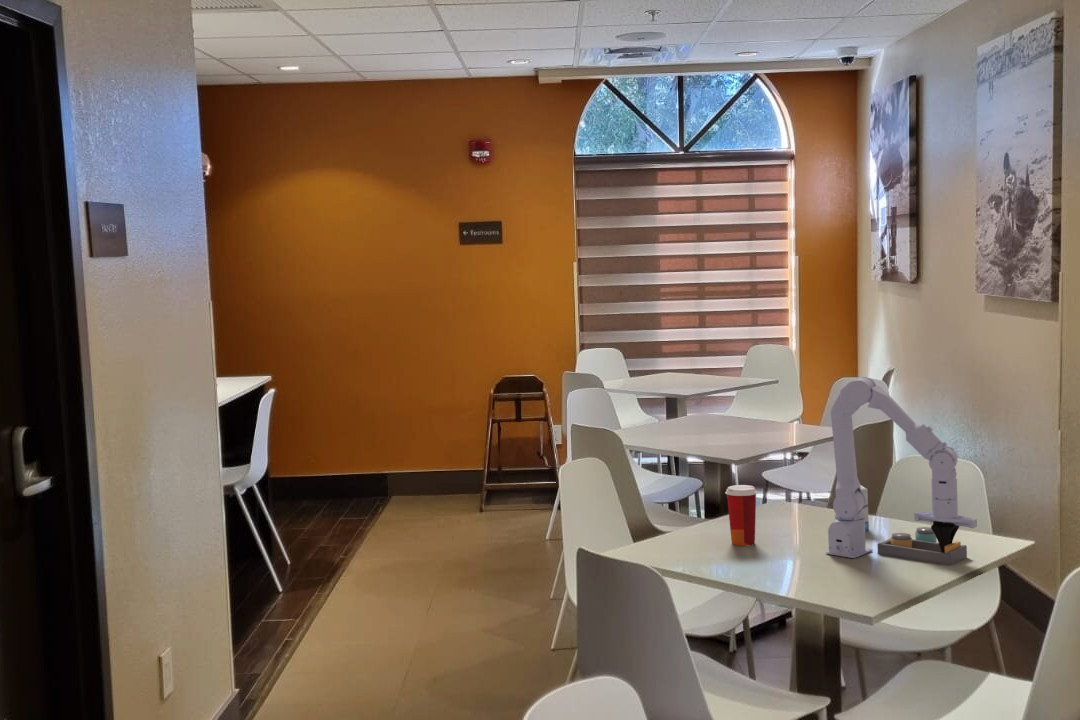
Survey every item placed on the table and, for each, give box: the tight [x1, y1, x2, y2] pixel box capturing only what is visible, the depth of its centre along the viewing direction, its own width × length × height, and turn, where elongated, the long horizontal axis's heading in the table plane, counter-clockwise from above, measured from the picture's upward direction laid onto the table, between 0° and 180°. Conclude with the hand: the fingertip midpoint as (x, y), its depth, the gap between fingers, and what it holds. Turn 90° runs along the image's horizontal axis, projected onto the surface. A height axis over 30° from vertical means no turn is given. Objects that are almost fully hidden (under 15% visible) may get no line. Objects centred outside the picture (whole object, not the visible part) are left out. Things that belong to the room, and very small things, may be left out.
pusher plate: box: [945, 540, 962, 553], centre depth 242 cm, size 6×1×4 cm, turn 133°
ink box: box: [860, 484, 870, 532], centre depth 279 cm, size 8×5×12 cm, turn 179°
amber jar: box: [890, 532, 913, 548], centre depth 252 cm, size 5×5×4 cm
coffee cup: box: [724, 484, 758, 547], centre depth 268 cm, size 8×8×15 cm
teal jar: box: [914, 526, 938, 543], centre depth 257 cm, size 5×5×4 cm
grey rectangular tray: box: [877, 538, 968, 566], centre depth 248 cm, size 9×18×3 cm, turn 43°
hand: (945, 553), depth 244 cm, fingers closed
